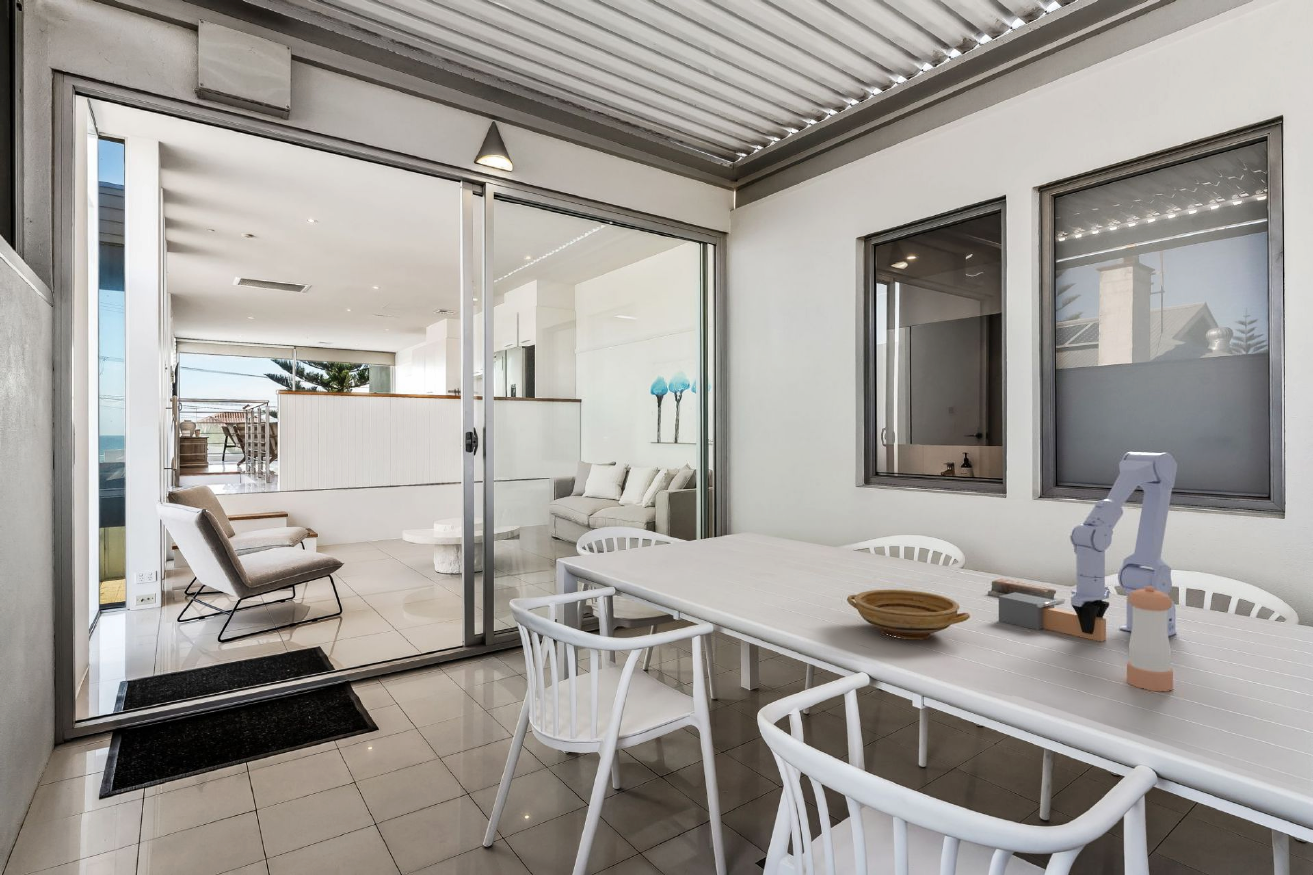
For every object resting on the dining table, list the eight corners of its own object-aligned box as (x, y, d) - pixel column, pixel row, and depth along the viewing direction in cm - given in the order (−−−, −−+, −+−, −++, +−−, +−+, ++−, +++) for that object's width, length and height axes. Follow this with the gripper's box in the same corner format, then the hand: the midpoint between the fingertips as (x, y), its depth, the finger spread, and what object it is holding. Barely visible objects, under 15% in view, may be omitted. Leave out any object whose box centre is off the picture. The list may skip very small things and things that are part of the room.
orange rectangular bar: (1105, 640, 160) (1106, 618, 160) (1101, 641, 159) (1101, 620, 159) (1037, 624, 174) (1037, 604, 174) (1032, 625, 172) (1032, 606, 172)
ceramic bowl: (983, 633, 166) (984, 600, 166) (953, 658, 148) (953, 621, 148) (867, 612, 185) (867, 583, 185) (827, 632, 167) (827, 600, 167)
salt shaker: (1153, 693, 128) (1154, 592, 127) (1117, 680, 135) (1117, 583, 134) (1182, 689, 130) (1182, 589, 129) (1145, 676, 137) (1145, 581, 136)
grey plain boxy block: (1057, 625, 172) (1057, 600, 172) (1040, 631, 168) (1040, 605, 168) (1015, 616, 181) (1015, 592, 181) (998, 621, 177) (998, 596, 177)
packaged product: (986, 580, 205) (1005, 576, 211) (986, 596, 205) (1004, 592, 211) (1047, 591, 190) (1065, 587, 196) (1047, 609, 190) (1065, 604, 196)
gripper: (1087, 568, 169) (1087, 623, 169) (1057, 575, 161) (1057, 632, 161) (1118, 573, 163) (1118, 630, 164) (1089, 581, 155) (1089, 640, 156)
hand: (1090, 632), depth 162 cm, fingers closed on orange rectangular bar, 2 cm apart
